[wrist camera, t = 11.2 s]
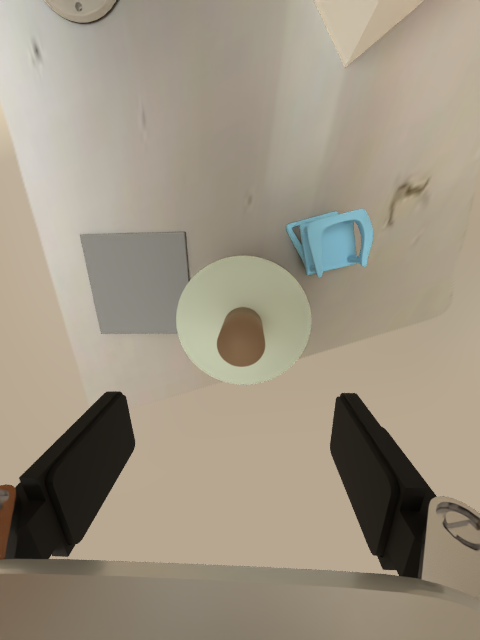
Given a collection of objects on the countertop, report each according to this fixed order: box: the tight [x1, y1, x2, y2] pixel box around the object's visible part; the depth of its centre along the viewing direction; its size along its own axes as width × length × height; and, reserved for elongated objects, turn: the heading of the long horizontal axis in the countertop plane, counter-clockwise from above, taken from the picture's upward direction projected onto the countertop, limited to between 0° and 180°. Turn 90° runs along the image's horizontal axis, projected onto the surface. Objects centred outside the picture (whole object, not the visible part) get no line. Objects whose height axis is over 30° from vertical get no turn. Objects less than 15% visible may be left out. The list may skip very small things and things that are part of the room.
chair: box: [286, 209, 373, 277], centre depth 30 cm, size 8×8×12 cm
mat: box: [80, 232, 189, 334], centre depth 38 cm, size 17×17×1 cm
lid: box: [176, 256, 311, 385], centre depth 21 cm, size 14×14×6 cm
